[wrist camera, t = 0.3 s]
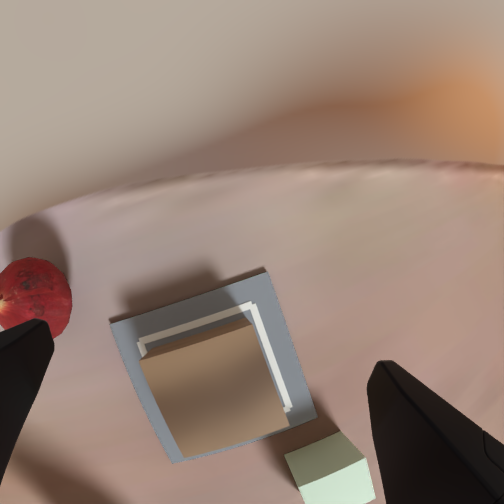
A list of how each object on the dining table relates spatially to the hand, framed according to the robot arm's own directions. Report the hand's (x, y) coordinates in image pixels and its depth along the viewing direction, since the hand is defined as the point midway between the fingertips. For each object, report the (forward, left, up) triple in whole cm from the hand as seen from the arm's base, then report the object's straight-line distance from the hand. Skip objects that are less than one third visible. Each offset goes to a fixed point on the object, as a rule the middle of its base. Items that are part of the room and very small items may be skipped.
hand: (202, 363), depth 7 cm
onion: (+4, +11, -15) cm, 19 cm away
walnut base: (-5, +1, -14) cm, 15 cm away
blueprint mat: (-5, +1, -14) cm, 15 cm away
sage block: (-16, -4, -14) cm, 21 cm away
